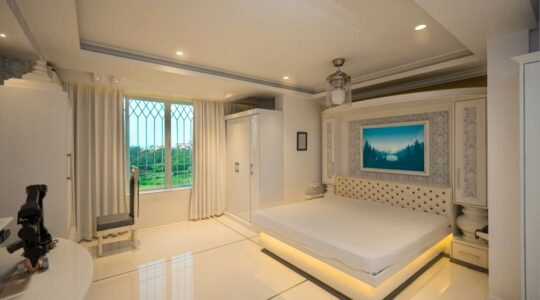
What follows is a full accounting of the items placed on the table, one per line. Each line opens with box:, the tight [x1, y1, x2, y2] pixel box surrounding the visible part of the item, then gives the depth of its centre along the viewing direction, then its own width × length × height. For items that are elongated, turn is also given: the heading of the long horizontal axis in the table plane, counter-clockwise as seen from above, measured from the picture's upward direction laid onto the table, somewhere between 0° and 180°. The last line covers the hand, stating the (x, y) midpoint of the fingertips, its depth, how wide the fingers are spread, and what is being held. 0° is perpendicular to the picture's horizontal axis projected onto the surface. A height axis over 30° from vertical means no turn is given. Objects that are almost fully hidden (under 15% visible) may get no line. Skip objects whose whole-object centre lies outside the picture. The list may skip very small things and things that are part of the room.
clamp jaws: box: [17, 256, 50, 278], centre depth 118 cm, size 6×10×4 cm, turn 137°
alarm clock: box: [22, 238, 59, 252], centre depth 144 cm, size 11×5×15 cm
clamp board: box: [18, 262, 50, 280], centre depth 118 cm, size 12×10×1 cm
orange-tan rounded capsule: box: [26, 258, 41, 272], centre depth 118 cm, size 4×4×6 cm
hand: (33, 264), depth 118 cm, fingers open, 9 cm apart
